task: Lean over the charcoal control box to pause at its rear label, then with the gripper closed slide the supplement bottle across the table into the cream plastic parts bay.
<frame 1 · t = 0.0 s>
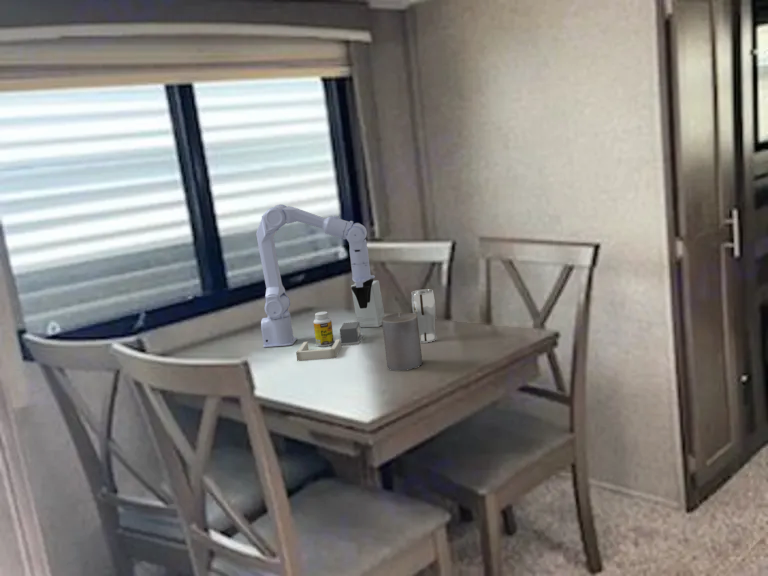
hand: (365, 305, 243), 10 cm above the table, tool pointing down, fingers open, 7 cm apart
parts bay: (320, 353, 232), on the table
pillar candle: (404, 366, 210), on the table
supplement bottle: (325, 345, 241), on the table
control box: (351, 340, 242), on the table
skincare box: (370, 326, 259), on the table
beer glass: (427, 340, 233), on the table
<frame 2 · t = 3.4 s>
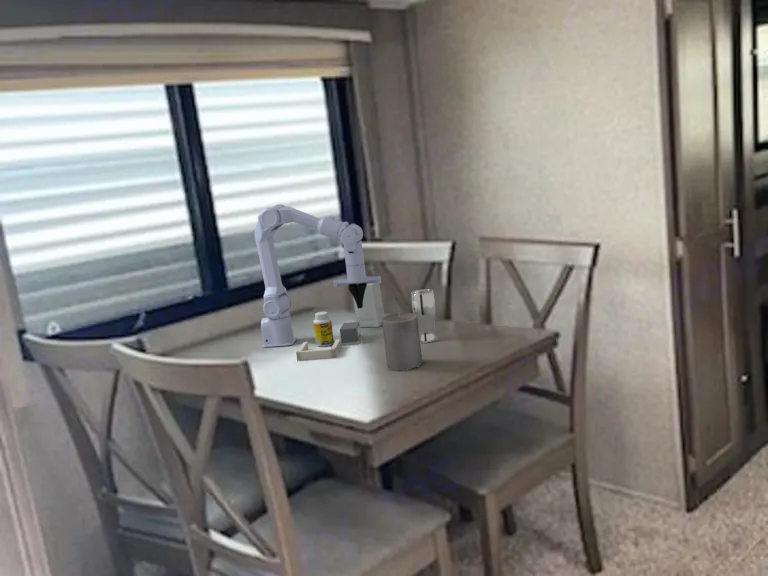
hand: (360, 307, 239), 10 cm above the table, tool pointing down, fingers closed
nothing on the table moved.
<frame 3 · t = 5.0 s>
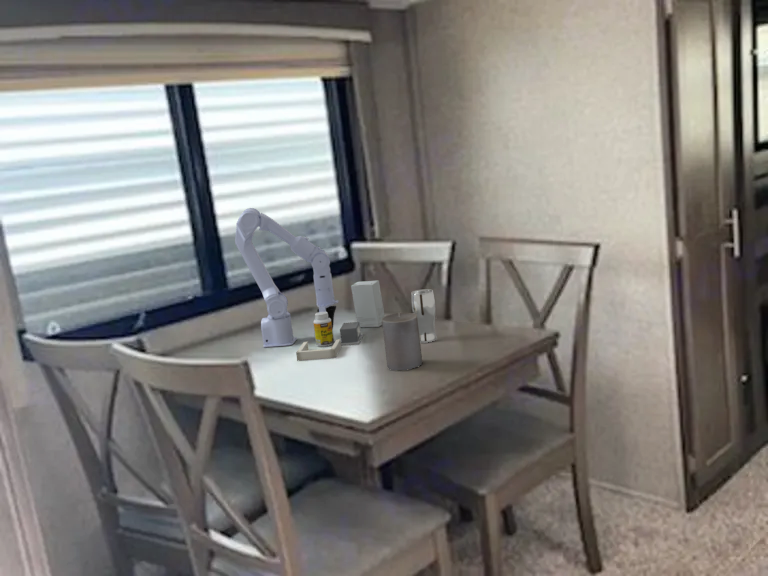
hand: (329, 329, 249), 2 cm above the table, tool pointing down, fingers closed
nothing on the table moved.
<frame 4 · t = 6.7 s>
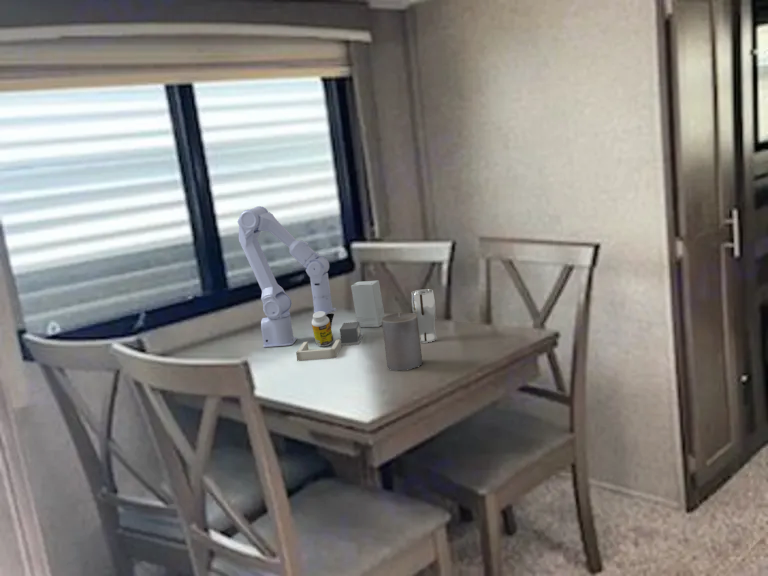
hand: (327, 337, 244), 1 cm above the table, tool pointing down, fingers closed
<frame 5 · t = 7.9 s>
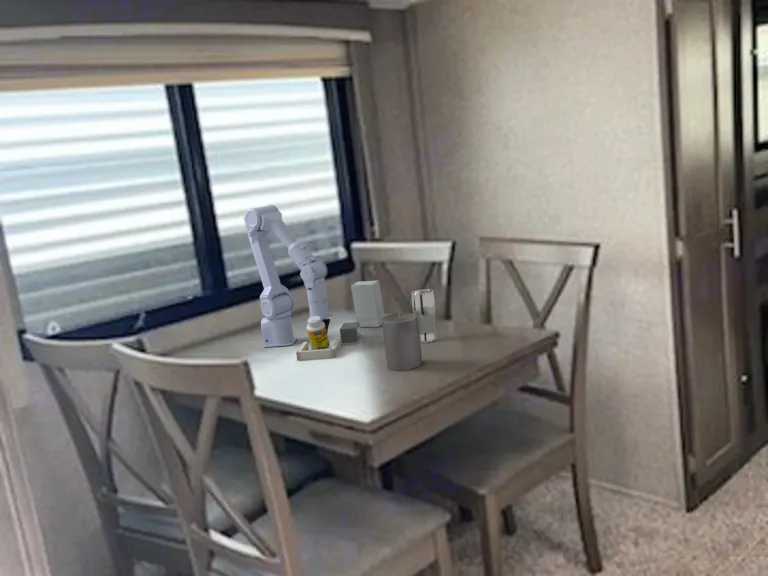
hand: (323, 343, 237), 1 cm above the table, tool pointing down, fingers closed
supplement bottle: (321, 348, 235), point 1 cm above the table, touching gripper
everything else where it was.
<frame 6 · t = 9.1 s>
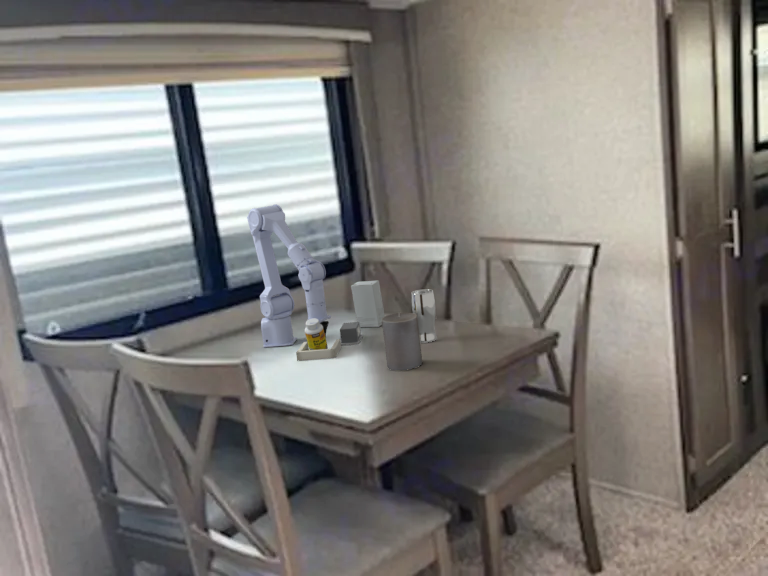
hand: (321, 346, 235), 1 cm above the table, tool pointing down, fingers closed
supplement bottle: (319, 351, 232), point 1 cm above the table, touching gripper
everything else where it was.
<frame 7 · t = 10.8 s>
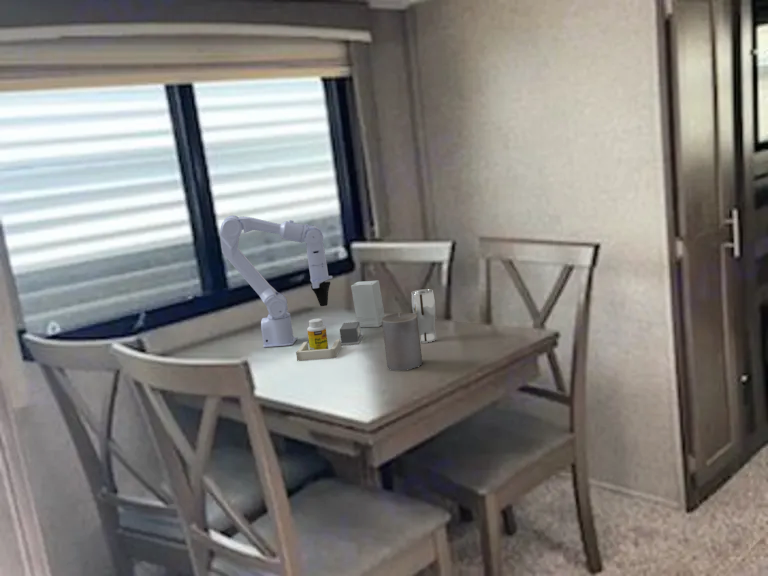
hand: (324, 305, 248), 10 cm above the table, tool pointing down, fingers closed
supplement bottle: (319, 353, 232), on the table
everything else where it was.
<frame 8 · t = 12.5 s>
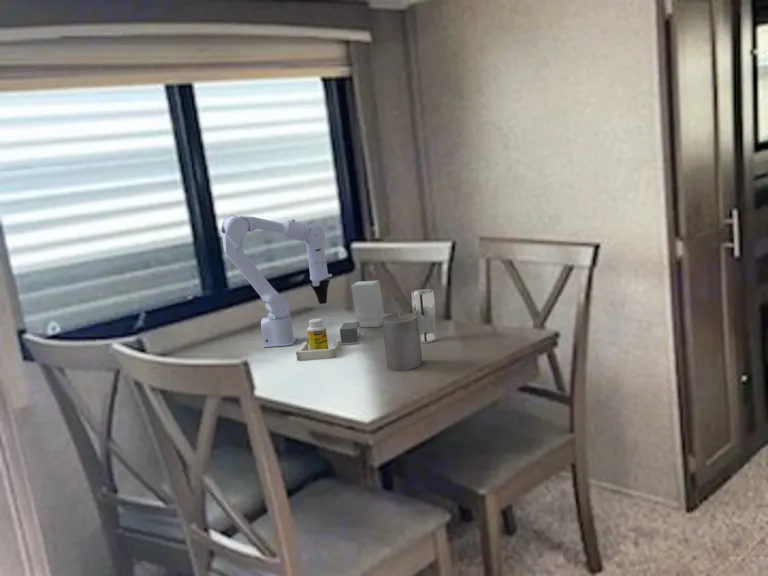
hand: (323, 303, 252), 10 cm above the table, tool pointing down, fingers closed
nothing on the table moved.
at the end: supplement bottle inside the target area (1.2 cm from its centre), on the table; supplement bottle tilted 0° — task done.
